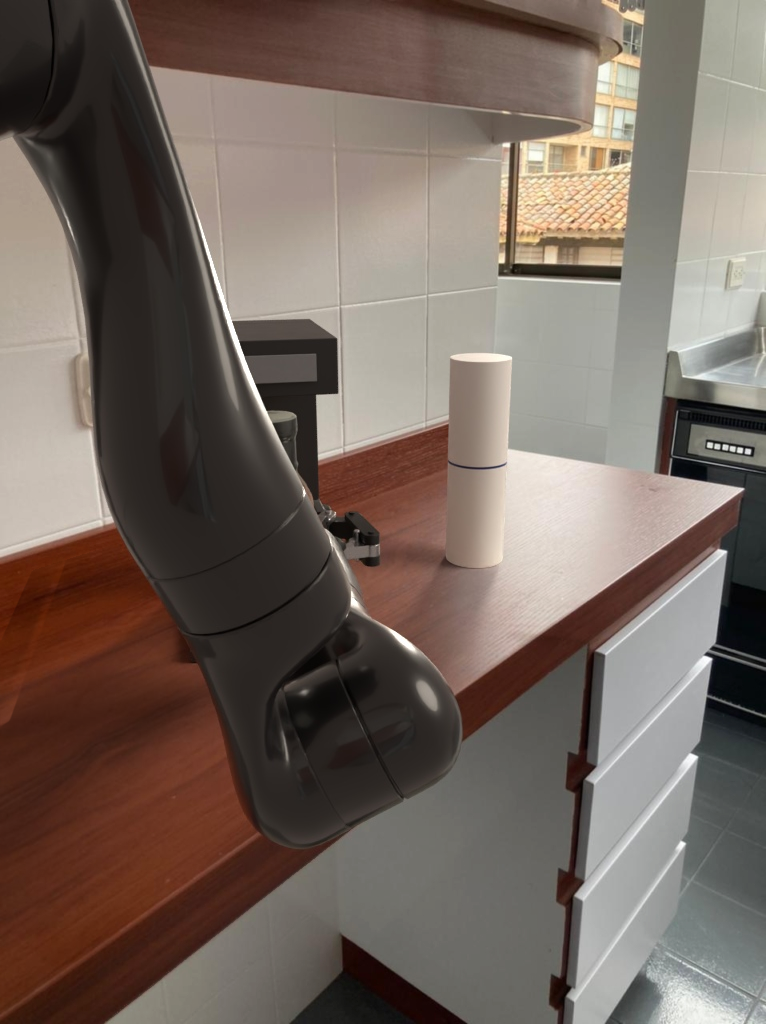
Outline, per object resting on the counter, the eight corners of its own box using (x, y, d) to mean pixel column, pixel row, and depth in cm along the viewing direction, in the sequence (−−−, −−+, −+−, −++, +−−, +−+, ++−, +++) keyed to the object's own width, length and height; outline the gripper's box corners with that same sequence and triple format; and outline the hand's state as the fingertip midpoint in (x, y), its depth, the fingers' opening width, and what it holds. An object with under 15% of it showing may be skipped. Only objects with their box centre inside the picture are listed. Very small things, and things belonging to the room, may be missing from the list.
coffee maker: (191, 663, 78) (162, 345, 68) (189, 587, 94) (166, 322, 85) (355, 644, 81) (350, 339, 71) (326, 574, 98) (319, 318, 88)
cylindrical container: (440, 564, 100) (444, 360, 92) (451, 544, 107) (456, 352, 99) (498, 570, 99) (507, 363, 90) (506, 549, 105) (515, 354, 97)
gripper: (408, 530, 52) (358, 464, 68) (178, 549, 49) (180, 476, 65) (408, 635, 55) (359, 548, 70) (189, 659, 52) (188, 563, 67)
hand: (273, 514), depth 68 cm, fingers closed on sauce bottle, 6 cm apart
